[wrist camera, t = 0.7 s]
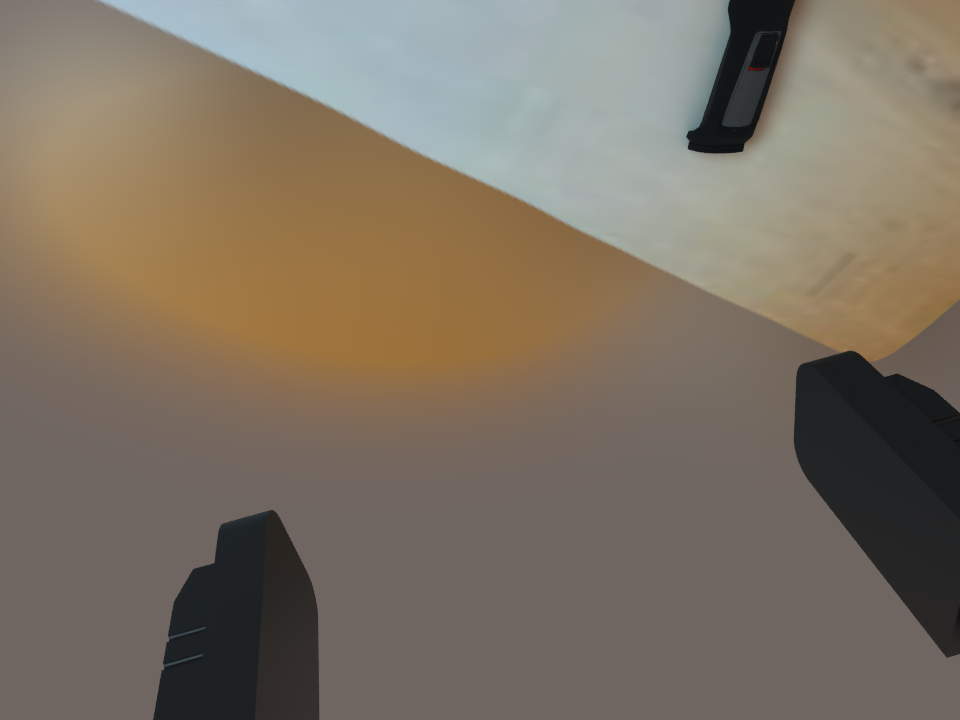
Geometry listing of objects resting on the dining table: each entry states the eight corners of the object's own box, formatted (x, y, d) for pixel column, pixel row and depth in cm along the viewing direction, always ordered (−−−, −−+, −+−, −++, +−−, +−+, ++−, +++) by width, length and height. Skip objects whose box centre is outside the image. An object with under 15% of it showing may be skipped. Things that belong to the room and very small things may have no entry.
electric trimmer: (830, -141, 38) (867, -123, 36) (732, 142, 49) (756, 169, 47) (762, -144, 37) (795, -125, 35) (678, 145, 48) (699, 172, 46)
